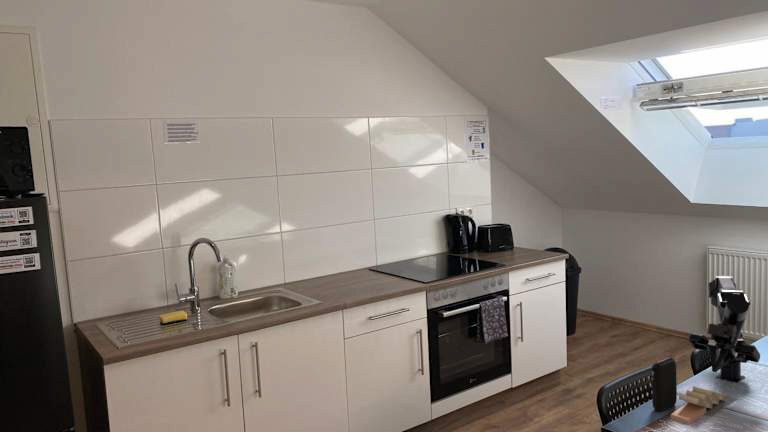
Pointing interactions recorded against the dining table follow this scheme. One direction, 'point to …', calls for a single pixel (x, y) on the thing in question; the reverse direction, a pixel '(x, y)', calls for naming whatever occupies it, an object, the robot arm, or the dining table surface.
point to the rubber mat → (718, 406)
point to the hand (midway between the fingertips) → (713, 371)
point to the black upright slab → (664, 384)
